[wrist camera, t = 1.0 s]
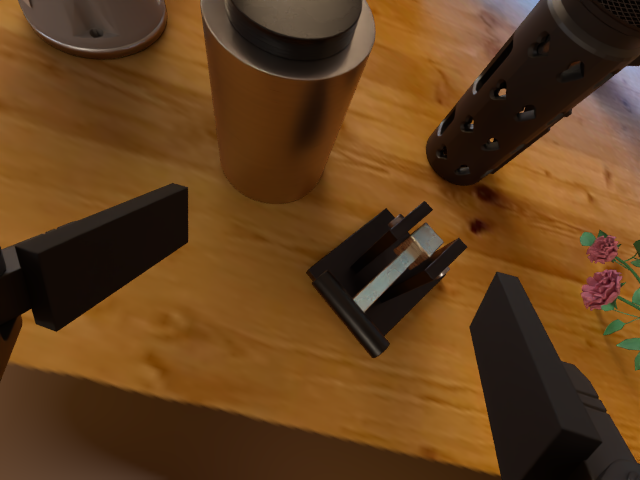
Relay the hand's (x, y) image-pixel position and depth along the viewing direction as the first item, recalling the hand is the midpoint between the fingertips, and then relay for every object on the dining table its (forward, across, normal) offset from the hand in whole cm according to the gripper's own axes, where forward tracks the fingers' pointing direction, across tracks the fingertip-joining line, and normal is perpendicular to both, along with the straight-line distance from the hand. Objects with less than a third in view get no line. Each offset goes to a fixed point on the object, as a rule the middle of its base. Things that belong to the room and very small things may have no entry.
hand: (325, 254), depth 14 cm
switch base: (+20, +3, -12) cm, 24 cm away
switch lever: (+10, +3, -7) cm, 13 cm away
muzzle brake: (+37, +10, -1) cm, 38 cm away
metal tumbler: (+25, -12, -4) cm, 28 cm away
